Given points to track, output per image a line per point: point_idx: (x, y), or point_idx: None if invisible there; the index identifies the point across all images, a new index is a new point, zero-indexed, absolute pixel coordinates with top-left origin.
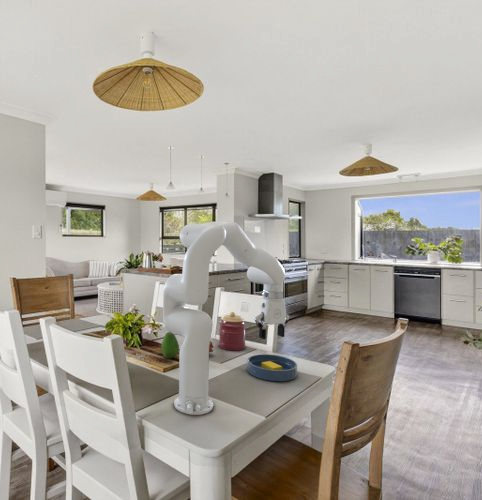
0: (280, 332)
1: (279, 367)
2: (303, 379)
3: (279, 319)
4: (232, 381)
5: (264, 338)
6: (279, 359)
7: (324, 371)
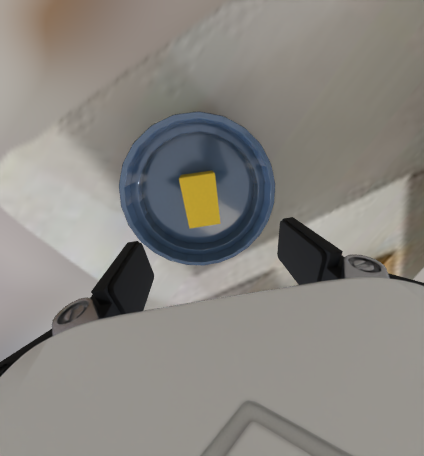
0: (140, 274)
1: (190, 176)
2: (132, 122)
3: (171, 395)
4: (324, 173)
5: (293, 219)
6: (150, 237)
7: (22, 162)
